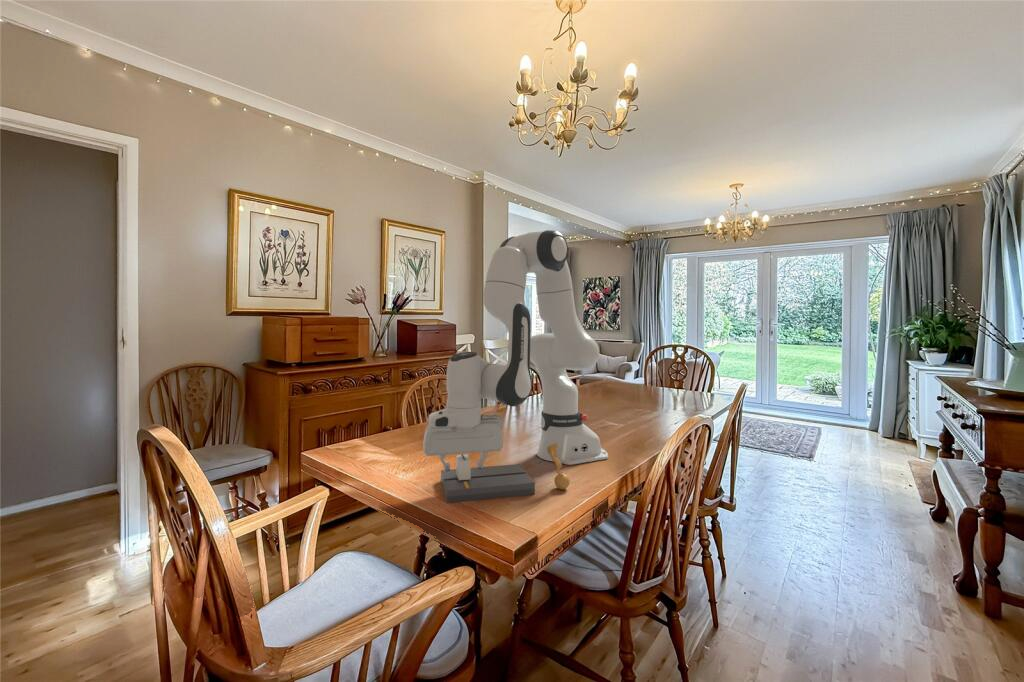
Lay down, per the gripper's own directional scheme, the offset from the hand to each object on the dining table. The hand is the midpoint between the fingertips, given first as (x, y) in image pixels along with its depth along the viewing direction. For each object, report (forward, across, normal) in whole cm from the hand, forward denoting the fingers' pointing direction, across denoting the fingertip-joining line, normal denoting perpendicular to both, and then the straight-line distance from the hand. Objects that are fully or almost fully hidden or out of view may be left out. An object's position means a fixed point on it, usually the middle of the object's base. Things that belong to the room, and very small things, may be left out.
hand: (463, 469), depth 114 cm
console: (+5, -6, 0) cm, 8 cm away
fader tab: (+3, 0, 0) cm, 3 cm away
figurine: (+6, -24, +5) cm, 25 cm away
